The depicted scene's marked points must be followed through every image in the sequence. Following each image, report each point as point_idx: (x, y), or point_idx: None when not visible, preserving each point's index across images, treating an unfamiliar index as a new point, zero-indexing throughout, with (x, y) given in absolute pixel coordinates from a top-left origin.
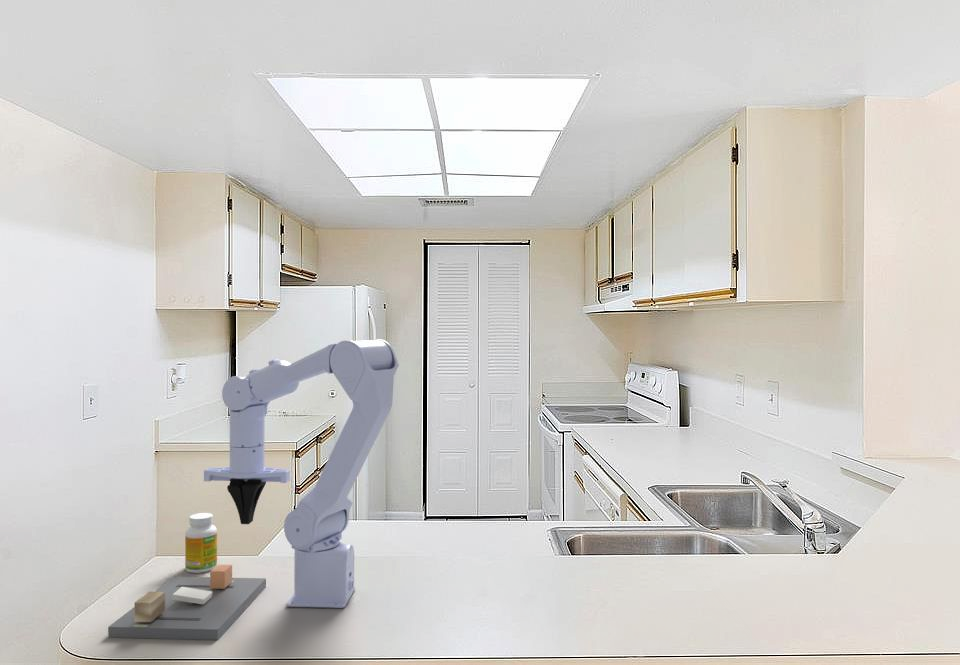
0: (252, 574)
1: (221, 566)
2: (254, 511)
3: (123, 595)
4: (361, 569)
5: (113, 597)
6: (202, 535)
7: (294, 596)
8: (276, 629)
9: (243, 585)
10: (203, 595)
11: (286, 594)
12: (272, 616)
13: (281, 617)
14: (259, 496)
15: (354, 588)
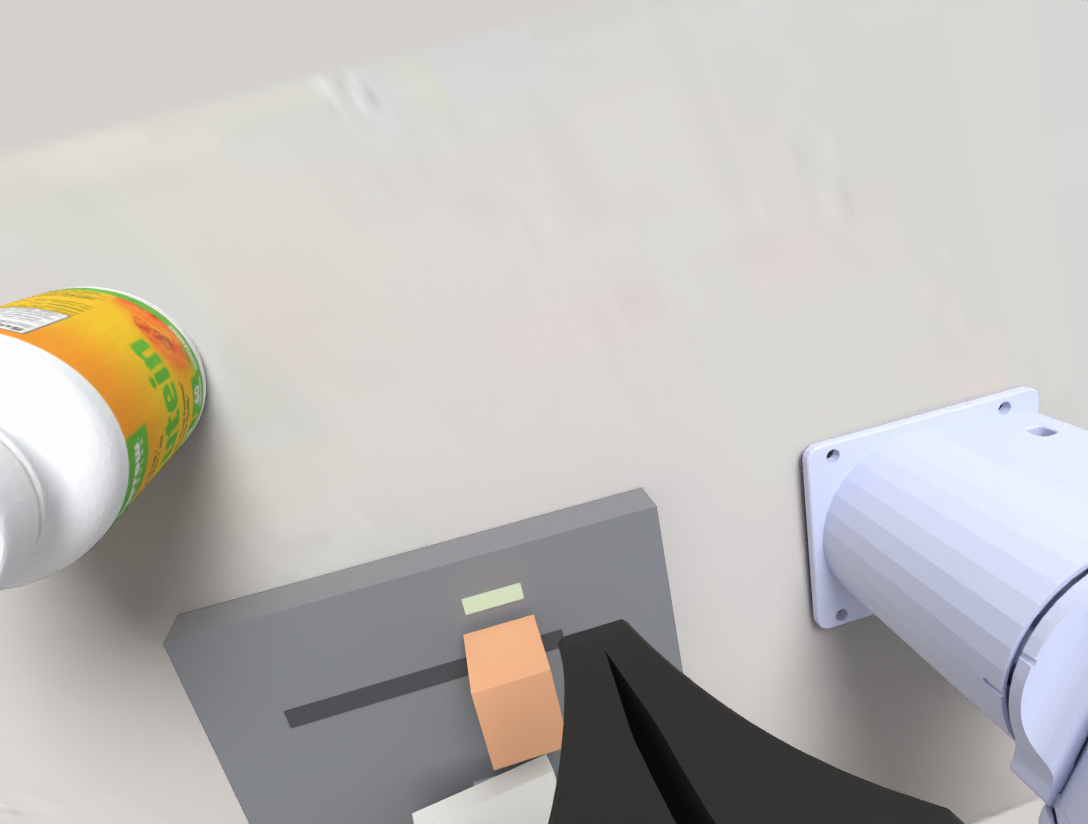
0: (482, 369)
1: (508, 706)
2: (662, 657)
3: (40, 776)
4: (1012, 135)
5: (15, 805)
6: (87, 550)
7: (833, 574)
8: (844, 749)
9: (598, 607)
10: (545, 814)
11: (764, 520)
12: (794, 688)
13: (827, 682)
14: (781, 743)
15: (1036, 407)
